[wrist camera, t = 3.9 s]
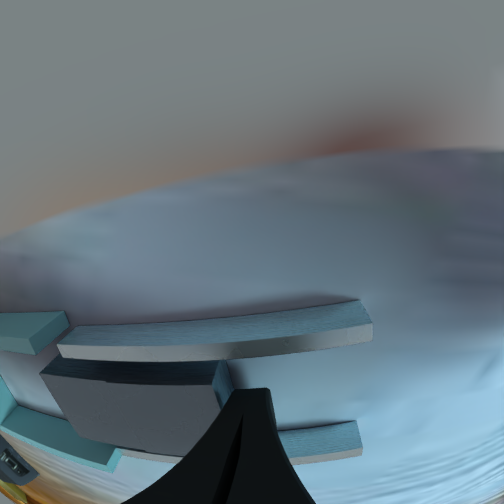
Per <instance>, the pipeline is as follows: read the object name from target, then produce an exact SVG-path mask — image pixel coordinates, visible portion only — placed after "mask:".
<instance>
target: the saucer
mask: <svg viewBox="0 0 504 504" xmlns="http://www.w3.org/2000/svg"><path fill="white" fill-rule="evenodd" d="M0 485H1V486H2V487H3V488H4V489H5V490H6V491H7V492H9V493H10V494H11V495H12V496H13V497H14V498H16V499H18V500H20V501H23V502H25V503H27V498H26V495H25V493H24V492H23V491H22V490H21V489H19V488H18V487H17V486H16V485H15V484H12V483H6V482H3V481H2V480H0Z"/></svg>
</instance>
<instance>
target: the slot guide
mask: <svg viewBox="0 0 504 504" xmlns="http://www.w3.org/2000/svg"><path fill="white" fill-rule="evenodd" d="M372 340H373V323H372V321H371V319H370V317H369V315H368V314H367V312H366V310H365V308H364V307H363V305H362V303H361V301H360V300H357V301H351V302H345V303H338V304H332V305H325V306H318V307H311V308H304V309H297V310H289V311H281V312H273V313H265V314H256V315H247V316H237V317H227V318H216V319H205V320H192V321H179V322H164V323H147V324H125V325H93V326H77V327H76V328H75V329H73V330H72V331H71V332H70V333H69V334H68V335H67V336H65V337H64V338H63V339H62V340H61V341H60V342H59V343H58V344H57V346H58V348H59V351H60V353H61V355H62V357H63V358H75V359H88V360H106V361H138V362H174V361H206V360H225V359H240V358H252V357H263V356H273V355H283V354H291V353H300V352H307V351H315V350H322V349H328V348H335V347H341V346H347V345H353V344H358V343H364V342H369V341H372ZM277 432H278V435H279V438H280V440H281V443H282V445H283V448H284V450H285V452H286V454H287V456H288V459H289V461H290V463H291V464H292V465H299V464H309V463H317V462H325V461H332V460H338V459H344V458H350V457H355V456H360V455H362V450H363V446H362V442H361V437H360V433H359V429H358V425H357V421H353V422H348V423H342V424H336V425H330V426H323V427H315V428H307V429H298V430H288V431H277ZM116 449H117V450H118V452H119V453H120V454H121V455H124V456H129V457H134V458H140V459H146V460H152V461H159V462H167V463H175V464H177V463H178V462H179V461H180V460H181V459H182V458H183V457H184V456H178V455H168V454H159V453H151V452H146V451H145V450H142V449H135V448H129V447H123V446H118V445H117V446H116Z"/></svg>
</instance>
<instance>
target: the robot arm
mask: <svg viewBox="0 0 504 504" xmlns="http://www.w3.org/2000/svg"><path fill="white" fill-rule="evenodd" d="M121 504H316V503H315V502H314V500H313V499H312V497H311V496H310V494H309V493H308V491H307V490H306V488H305V487H304V485H303V484H302V482H301V481H300V479H299V477H298V475H297V474H296V472H295V470H294V468H293V466H292V464H291V463H290V461H289V459H288V456H287V454H286V452H285V450H284V448H283V445H282V443H281V440H280V438H279V435H278V432H277V428H276V419H275V413H274V408H273V403H272V398H271V393H270V389H268V388H253V389H236V390H234V391H233V392H232V393H231V395H230V397H229V398H228V400H227V402H226V403H225V405H224V406H223V408H222V410H221V411H220V413H219V414H218V416H217V417H216V418H215V420H214V421H213V423H212V424H211V425H210V427H209V428H208V429H207V431H206V432H205V433H204V435H203V436H202V437H201V438H200V440H199V441H198V442H197V443H196V444H195V445H194V447H193V448H192V449H191V450H190V451H189V452H188V453H187V454H186V455H185V456H184V457H183V458H182V459H181V460H180V461H179V462H178V463H177V464H176V465H175V466H174V467H173V468H172V469H171V470H170V471H168V472H167V473H166V474H165V475H164V476H162V477H161V478H160V479H159V480H157V481H156V482H155V483H153V484H152V485H151V486H149V487H148V488H146V489H145V490H143V491H141V492H140V493H138V494H137V495H135V496H133V497H132V498H130V499H128V500H127V501H125V502H123V503H121Z"/></svg>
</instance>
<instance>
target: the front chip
mask: <svg viewBox="0 0 504 504" xmlns="http://www.w3.org/2000/svg"><path fill="white" fill-rule="evenodd" d="M105 383H106V385H107V387H108V389H109V390H110V392H111V394H112V396H113V398H114V400H115V402H116V403H117V405H118V407H119V409H120V410H121V412H122V414H123V416H124V417H125V419H126V421H127V422H128V424H129V426H130V427H131V429H132V430H133V432H134V434H135V435H136V437H137V438H138V440H139V441H140V443H141V445H142V446H143V448H144V449H145V451H146V452H151V453H159V454H168V455H178V456H185V455H186V454H187V453H188V452H189V451H190V450H191V449H192V448H193V447H194V445H195V444H196V443H197V442H198V441H199V440H200V438H201V437H202V436H203V435H204V433H205V432H206V431H207V429H208V428H209V427H210V425H211V424H212V423H213V421H214V420H215V418H216V417H217V416H218V414H219V413H220V411H221V410H222V408H223V406H224V405H225V403H226V402H227V400H228V398H229V397H230V395H231V393H232V392H233V391H234V388H233V384H232V381H231V377H230V374H229V370H228V367H227V363H226V360H206V361H174V362H138V361H121V362H120V364H119V365H118V366H117V368H116V369H115V370H114V372H113V373H112V374H111V376H110V377H109V378H108V380H107V381H106V382H105Z"/></svg>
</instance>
